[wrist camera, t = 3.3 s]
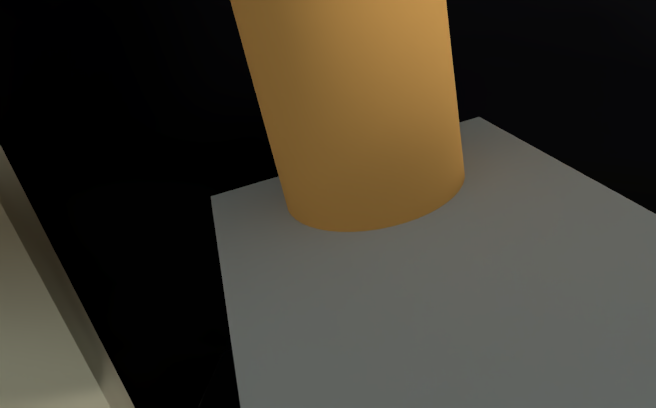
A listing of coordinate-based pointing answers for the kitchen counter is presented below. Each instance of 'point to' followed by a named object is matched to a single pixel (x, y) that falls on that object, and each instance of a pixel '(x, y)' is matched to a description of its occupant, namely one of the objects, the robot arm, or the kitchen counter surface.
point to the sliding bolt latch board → (45, 320)
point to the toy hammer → (419, 235)
